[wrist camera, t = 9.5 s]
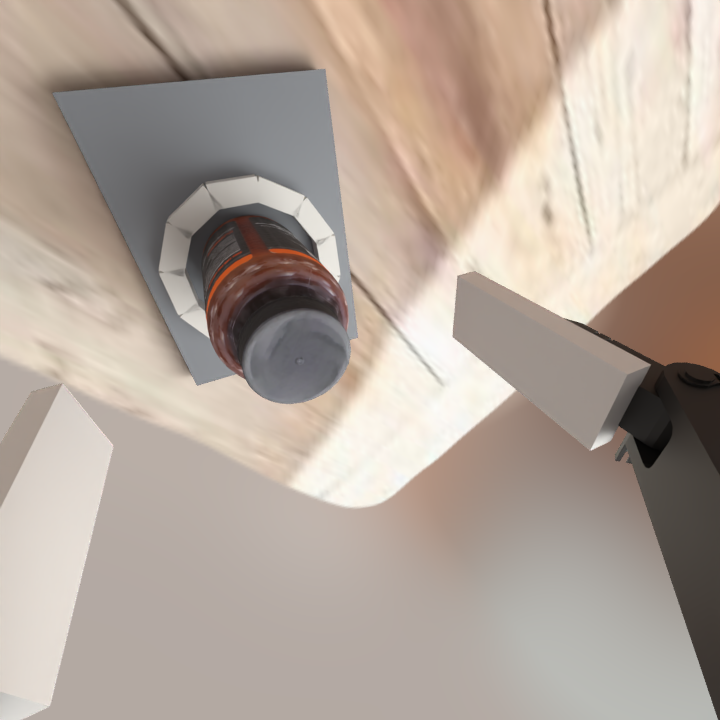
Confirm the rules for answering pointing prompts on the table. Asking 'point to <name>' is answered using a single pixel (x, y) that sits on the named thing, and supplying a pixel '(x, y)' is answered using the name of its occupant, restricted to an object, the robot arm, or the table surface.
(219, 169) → the hub board
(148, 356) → the table surface
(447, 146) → the table surface
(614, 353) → the robot arm
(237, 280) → the supplement bottle
